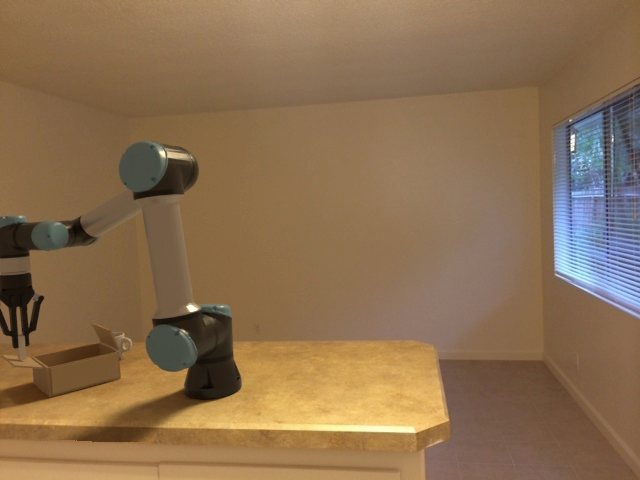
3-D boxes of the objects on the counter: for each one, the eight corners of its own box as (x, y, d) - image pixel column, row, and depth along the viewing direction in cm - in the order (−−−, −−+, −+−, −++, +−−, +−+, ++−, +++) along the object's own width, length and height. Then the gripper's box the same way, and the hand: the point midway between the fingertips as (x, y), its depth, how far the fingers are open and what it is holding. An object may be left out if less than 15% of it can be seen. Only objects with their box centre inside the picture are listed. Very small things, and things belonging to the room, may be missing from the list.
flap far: (120, 349, 145) (110, 329, 143) (118, 350, 145) (109, 330, 143) (101, 341, 156) (92, 322, 154) (100, 341, 156) (91, 323, 154)
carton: (121, 379, 145) (119, 352, 144) (50, 398, 132) (48, 368, 131) (100, 366, 157) (98, 342, 157) (33, 383, 144) (30, 356, 144)
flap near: (43, 367, 131) (14, 365, 127) (42, 368, 131) (14, 367, 127) (28, 356, 142) (2, 354, 138) (28, 358, 142) (1, 356, 137)
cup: (138, 354, 170) (136, 331, 169) (126, 361, 162) (125, 337, 161) (108, 354, 171) (106, 332, 170) (95, 362, 163) (93, 338, 162)
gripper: (38, 269, 140) (44, 351, 142) (-17, 275, 131) (-9, 362, 133) (45, 270, 135) (52, 355, 136) (-11, 277, 126) (-3, 367, 127)
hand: (22, 358), depth 134 cm, fingers closed
